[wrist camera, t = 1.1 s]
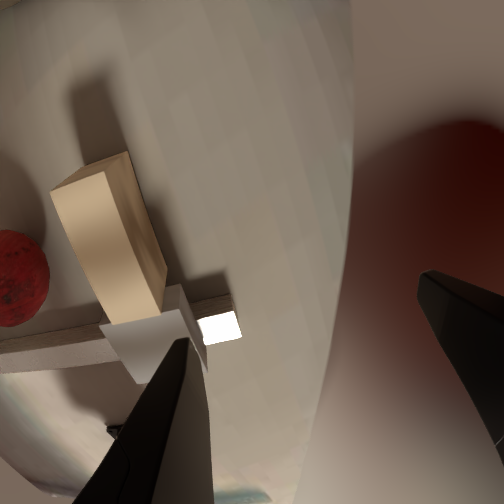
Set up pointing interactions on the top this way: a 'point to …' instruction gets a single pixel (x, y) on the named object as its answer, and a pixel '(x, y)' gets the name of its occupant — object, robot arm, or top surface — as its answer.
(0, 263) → the red round solid
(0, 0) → the plastic bottle
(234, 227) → the top surface
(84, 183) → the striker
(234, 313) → the rail
